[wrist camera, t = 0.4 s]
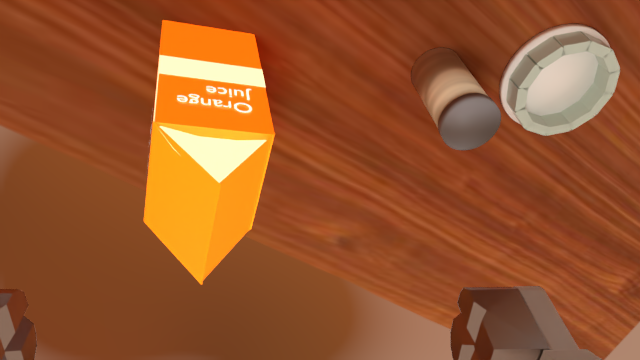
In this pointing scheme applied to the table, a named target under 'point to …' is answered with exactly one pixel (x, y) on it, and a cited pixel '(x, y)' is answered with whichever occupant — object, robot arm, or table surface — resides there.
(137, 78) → the table surface
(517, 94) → the ceramic dish
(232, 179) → the orange juice
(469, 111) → the spice jar
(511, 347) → the robot arm
